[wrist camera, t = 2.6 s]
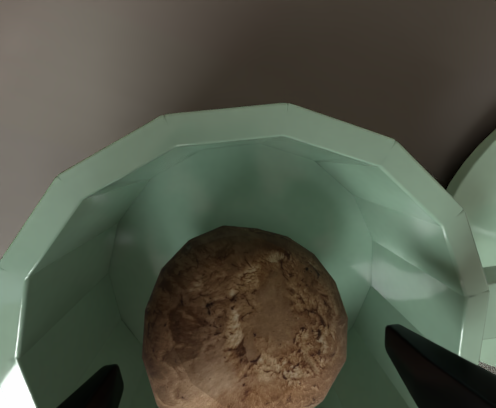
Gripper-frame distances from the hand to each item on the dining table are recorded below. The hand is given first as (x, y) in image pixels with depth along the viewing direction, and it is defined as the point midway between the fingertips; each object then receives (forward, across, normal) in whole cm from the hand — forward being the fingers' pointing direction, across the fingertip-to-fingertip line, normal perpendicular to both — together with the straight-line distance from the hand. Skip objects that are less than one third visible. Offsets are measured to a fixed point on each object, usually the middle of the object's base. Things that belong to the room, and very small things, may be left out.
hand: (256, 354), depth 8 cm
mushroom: (+5, 0, 0) cm, 5 cm away
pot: (+5, 0, 0) cm, 5 cm away
